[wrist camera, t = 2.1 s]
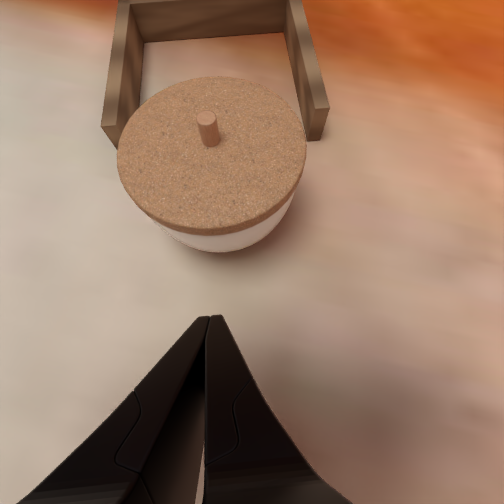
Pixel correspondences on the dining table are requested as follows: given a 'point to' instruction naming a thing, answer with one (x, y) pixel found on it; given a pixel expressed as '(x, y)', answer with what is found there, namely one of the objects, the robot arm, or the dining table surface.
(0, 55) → the dining table surface
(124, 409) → the robot arm
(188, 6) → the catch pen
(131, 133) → the lidded jar
